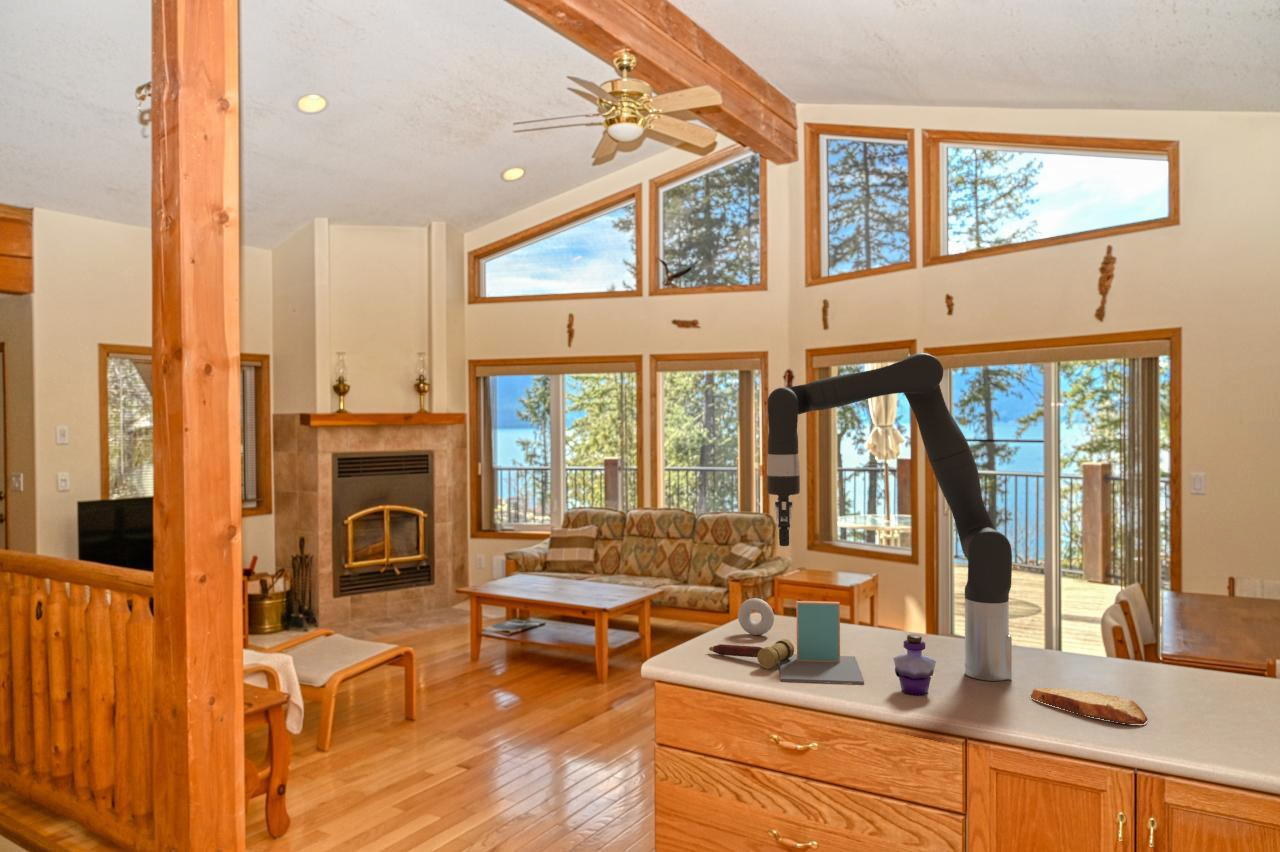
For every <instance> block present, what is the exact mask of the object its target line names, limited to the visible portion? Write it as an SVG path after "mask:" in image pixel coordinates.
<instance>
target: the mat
mask: <svg viewBox="0 0 1280 852" xmlns="http://www.w3.org/2000/svg"><path fill="white" fill-rule="evenodd" d="M779 672H781V673H780V681H781V682H789V681H791V682H795V683H796V682H797V683H816V682H830V683H829V684H842V683H852V684H851V685H865V679H864V678H863V674H862V672H861V669H860V666H859V664H858V661H857V659H856V656H853V655H851V656H849V655H840V663H837V662H807V661H797V653H796V654H795V653H794V654H793V656H792V657H790V658H788V659H786V660H781V661H780V662H779Z"/></svg>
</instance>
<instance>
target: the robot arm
mask: <svg viewBox="0 0 1280 852" xmlns="http://www.w3.org/2000/svg"><path fill="white" fill-rule="evenodd" d="M943 377H944V368H943V365H942V363H941V361H940V360H939V359H938V358H937V357H936V356H934V355H931V354H930V353H925V352H918V353H914V354H911V355H909V356H907V357H905V358H904V359H902V360H900V361H897V362H894V363H892V364H889V365H886V366H882V367H879V368H874V369H871V370H870V369H869V370H865V371H858V372H852V373H846V374H840V375H836V376H830V377H826V378H821V379H817V380H813V381H810V382H808V383H805V384H800V385H793V386H788V387H778V388H775V389H773V391H772V392H771V393H769V396H768V397H767V401H766V402H767V403H766V405H767V418H768V419H767V423H768V435H767V461H766V493H767V494H768V495H772V496H777V501H775V502H774V510H775V512H776V513H775V514H776V515H775V517H776V521H777V528H778V536H779V537H778V540H779V546H780V547H788V546H789V545H790V529H791V522H792V512H793V501H790V497H789V496H795V495H799V494H800V493H801V489H800V488H801V486H800V485H801V481H800V480H801V477H800V476H801V475H800V473H801V472H800V471H801V469H800V457H799V436H798V435H799V433H798V424H799V423H798V419H799V415H801V414H806V413H810V412H813V411H817V412H818V411H824V410H829V409H834V408H839V407H844V406H847V405H851V404H854V403H855V404H856V403H857V402H861V401H862V402H863V401H867V400H869V399H873V398H877V397H882V396H888V395H895V394H903V395H904V396H905V397H906V399H907V402H908V403H909V405H910V407H911V410H912V412H913V414H914V416H915V417H914V418H915V419H916V422H917V423H916V424H918V425H917V426H918V429H919V433H920V436H921V440H922V443H923V445H924V449H925V453H926V455H927V458H928V461H929V463H930V466H931V469H932V472H933V475H934V477H935V479H936V481H937V483H938V486H939V487H940V491H941V493H942V494H943V497H944V499H945V501H946V503H947V505H948V507H949V509H950V511H951V515H952V516H953V519H954V523H955V526H956V527H955V528H956V531H957V534H958V539H959V542H960V547H961V549H962V553H963V555H964V557H965V558H966V559H967V580H966V581H967V582H966V584H965V586H964V674H965V675H966V676H968V677H971V678H973V679H977V680H981V681H993V682H997V681H1006V680H1013V677H1012V675H1013V672H1012V671H1013V670H1012V669H1013V667H1012V665H1013V661H1012V659H1013V657H1012V656H1013V655H1012V654H1013V653H1012V650H1013V647H1012V645H1013V642H1012V640H1013V638H1012V636H1011V635H1010V627H1009V626H1010V621H1009V620H1010V619H1009V618H1010V615H1009V614H1010V613H1009V612H1010V611H1009V609H1010V607H1009V605H1010V602H1009V601H1010V597H1009V596H1010V591H1011V589H1012V573H1013V572H1012V571H1013V570H1012V568H1013V554H1012V545H1011V542H1010V540H1009V539H1008V537H1006V535H1004V534H1003V533H1002V532H1000V531H998V530H997V528H996V527H995V525H994V523H993V521H992V520H991V517H990V515H989V513H988V511H987V508H986V505H985V502H984V500H983V496H982V488H981V480H980V474H979V470H978V466H977V463H976V461H975V458H974V455H973V452H972V449H971V448H970V447H971V446H970V445H969V443H968V440H967V438H966V437H965V435H964V433H963V432H962V429H961V428H960V427H959V425H958V423H957V422H956V420H955V418H954V417H953V416H952V414H951V413H950V411H949V409H948V406H947V404H946V402H945V399H944V395H943V392H942V389H941V385H940V384H941V382H942V380H943Z"/></svg>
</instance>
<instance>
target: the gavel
mask: <svg viewBox="0 0 1280 852" xmlns="http://www.w3.org/2000/svg"><path fill="white" fill-rule="evenodd" d="M708 650H709V651H710V652H713V653H715V654H718V655H719V656H731V657H732V656H733V657H744V658H745V657H747V658H756V659H757V662H758V663H759V665H760V666H761V667H762V668H764V669H771V668H773V667H775V666H776V665H777V664H778V663H780V661H781V660H786V659H788V658H790V657H792V656H793V654H795V647H794V644H793V643H792V641H790V640H788V639H787V638H782V639H779V640H778V641H776V642H775V643H774V644H773V645H771V646H765V647H762V646H754V645H752V646H751V645H740V644H739V645H737V644H720V643H719V644H717V645H713V646H709V648H708Z"/></svg>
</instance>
